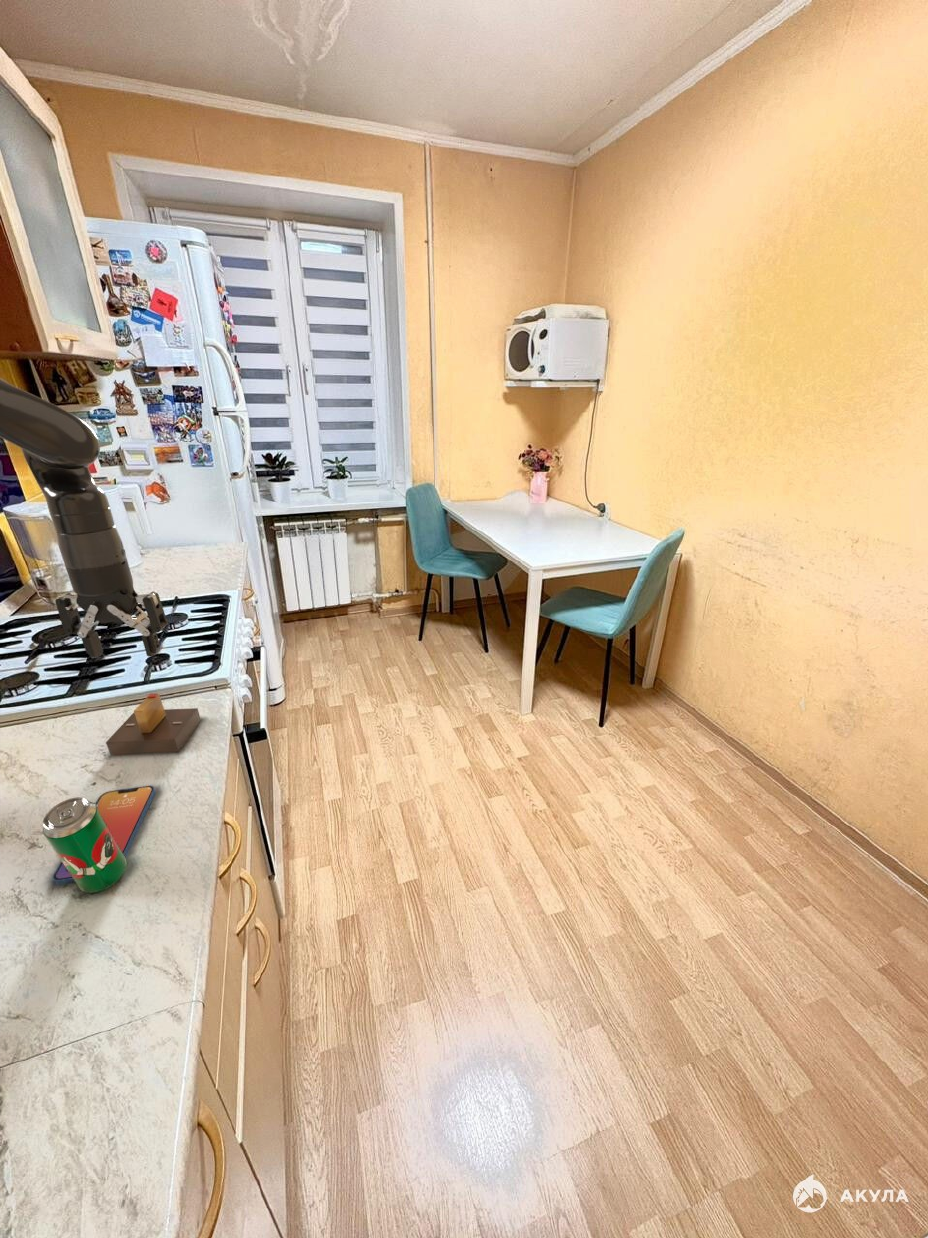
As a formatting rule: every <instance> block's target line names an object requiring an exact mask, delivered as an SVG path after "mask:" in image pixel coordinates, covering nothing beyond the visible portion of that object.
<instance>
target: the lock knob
mask: <svg viewBox="0 0 928 1238" xmlns="http://www.w3.org/2000/svg"><path fill="white" fill-rule="evenodd" d="M164 710H165V708H164V705H163V702H162V698H161V695H160V694H159V693H149V694H148V695H147V696H146V698H145V699H144V700H143V701H142V702H141V703H140V704H139V705H138V706H137V707H136V708H135V709H134V710H133V713H135V716H136V719H137V722H138V725H139V728H140V731H141V733H151V732H152V731H153V729H154V728H155V727H156V726H157V725H158V724H159V723H160V722H161V720H162V719H163V718H164V717H165V716H166V714H165V711H164Z"/></svg>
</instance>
